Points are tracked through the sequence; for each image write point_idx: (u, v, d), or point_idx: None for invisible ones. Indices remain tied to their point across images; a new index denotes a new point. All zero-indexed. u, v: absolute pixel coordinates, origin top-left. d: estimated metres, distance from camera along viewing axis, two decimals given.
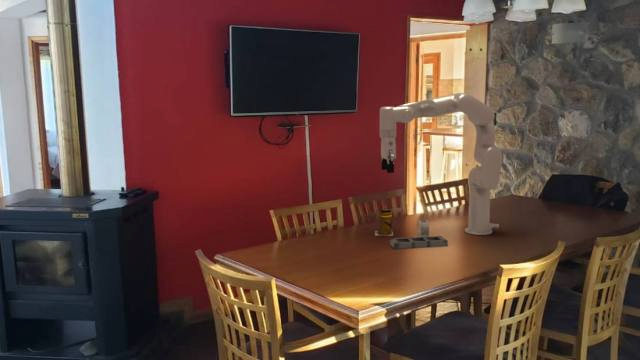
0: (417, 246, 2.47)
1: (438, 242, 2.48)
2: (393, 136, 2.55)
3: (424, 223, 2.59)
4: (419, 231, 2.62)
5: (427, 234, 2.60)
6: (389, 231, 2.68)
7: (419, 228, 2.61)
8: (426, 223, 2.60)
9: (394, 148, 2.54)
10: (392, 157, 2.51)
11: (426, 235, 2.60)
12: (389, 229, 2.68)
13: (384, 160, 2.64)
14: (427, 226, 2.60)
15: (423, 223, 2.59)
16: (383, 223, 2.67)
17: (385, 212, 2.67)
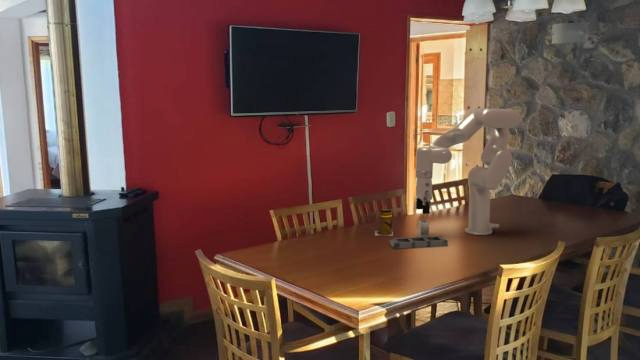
0: (417, 246, 2.47)
1: (438, 242, 2.48)
2: (430, 177, 2.55)
3: (424, 223, 2.59)
4: (419, 231, 2.62)
5: (427, 234, 2.60)
6: (389, 231, 2.68)
7: (419, 228, 2.61)
8: (426, 223, 2.60)
9: (430, 189, 2.54)
10: (429, 199, 2.51)
11: (426, 235, 2.60)
12: (389, 229, 2.68)
13: (419, 200, 2.64)
14: (427, 226, 2.60)
15: (423, 223, 2.59)
16: (383, 223, 2.67)
17: (385, 212, 2.67)
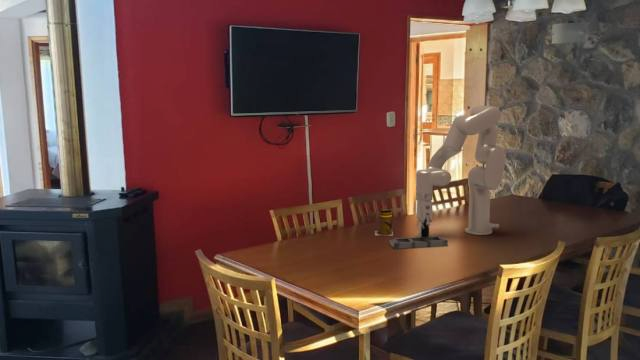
0: (417, 246, 2.47)
1: (438, 242, 2.48)
2: (430, 200, 2.57)
3: (424, 223, 2.59)
4: (419, 231, 2.62)
5: None
6: (389, 231, 2.68)
7: (419, 228, 2.61)
8: None
9: (431, 212, 2.56)
10: (428, 225, 2.55)
11: None
12: (389, 229, 2.68)
13: None
14: None
15: None
16: (383, 223, 2.67)
17: (385, 212, 2.67)
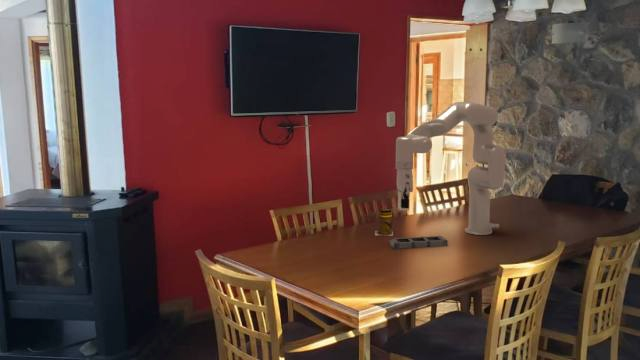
0: (417, 246, 2.47)
1: (438, 242, 2.48)
2: (410, 168, 2.42)
3: (404, 193, 2.44)
4: (399, 202, 2.47)
5: None
6: (389, 231, 2.68)
7: (399, 199, 2.47)
8: None
9: (411, 181, 2.41)
10: (407, 194, 2.40)
11: None
12: (389, 229, 2.68)
13: None
14: None
15: None
16: (383, 223, 2.67)
17: (385, 212, 2.67)
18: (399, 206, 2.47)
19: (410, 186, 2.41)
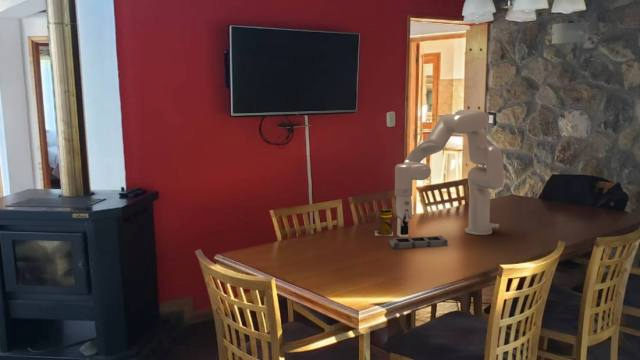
0: (417, 246, 2.47)
1: (438, 242, 2.48)
2: (409, 195, 2.43)
3: (403, 220, 2.46)
4: (398, 228, 2.48)
5: None
6: (389, 231, 2.68)
7: (398, 225, 2.48)
8: None
9: (410, 208, 2.43)
10: (407, 222, 2.42)
11: None
12: (389, 229, 2.68)
13: None
14: None
15: None
16: (383, 223, 2.67)
17: (385, 212, 2.67)
18: (398, 232, 2.48)
19: (409, 213, 2.43)
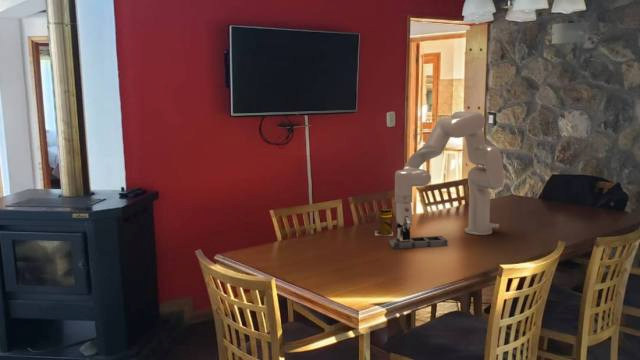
0: (417, 246, 2.47)
1: (438, 242, 2.48)
2: (409, 202, 2.44)
3: None
4: (398, 239, 2.49)
5: None
6: (389, 231, 2.68)
7: (398, 235, 2.49)
8: None
9: (410, 214, 2.43)
10: (408, 225, 2.40)
11: None
12: (389, 229, 2.68)
13: (399, 224, 2.53)
14: None
15: (402, 230, 2.47)
16: (383, 223, 2.67)
17: (385, 212, 2.67)
18: None
19: (409, 220, 2.43)
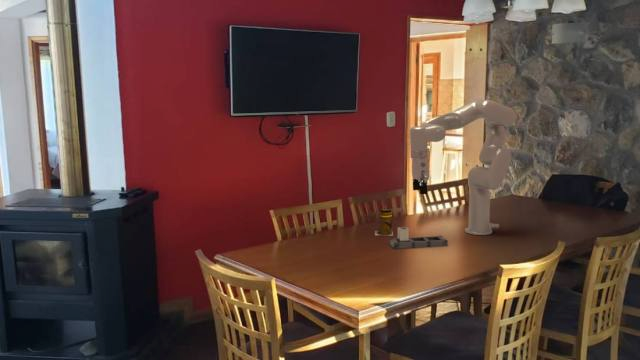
0: (417, 246, 2.47)
1: (438, 242, 2.48)
2: (425, 157, 2.49)
3: (403, 230, 2.47)
4: (398, 239, 2.49)
5: None
6: (389, 231, 2.68)
7: (398, 235, 2.49)
8: (405, 230, 2.47)
9: (427, 169, 2.48)
10: (425, 179, 2.45)
11: None
12: (389, 229, 2.68)
13: (415, 180, 2.59)
14: (407, 233, 2.47)
15: (402, 230, 2.47)
16: (383, 223, 2.67)
17: (385, 212, 2.67)
18: None
19: (426, 174, 2.48)
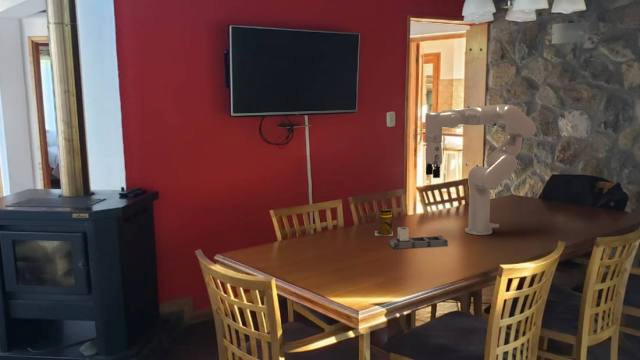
0: (417, 246, 2.47)
1: (438, 242, 2.48)
2: (439, 141, 2.56)
3: (403, 230, 2.47)
4: (398, 239, 2.49)
5: None
6: (389, 231, 2.68)
7: (398, 235, 2.49)
8: (405, 230, 2.47)
9: (440, 153, 2.55)
10: (439, 162, 2.52)
11: None
12: (389, 229, 2.68)
13: (428, 165, 2.65)
14: (407, 233, 2.47)
15: (402, 230, 2.47)
16: (383, 223, 2.67)
17: (385, 212, 2.67)
18: None
19: (439, 158, 2.55)
